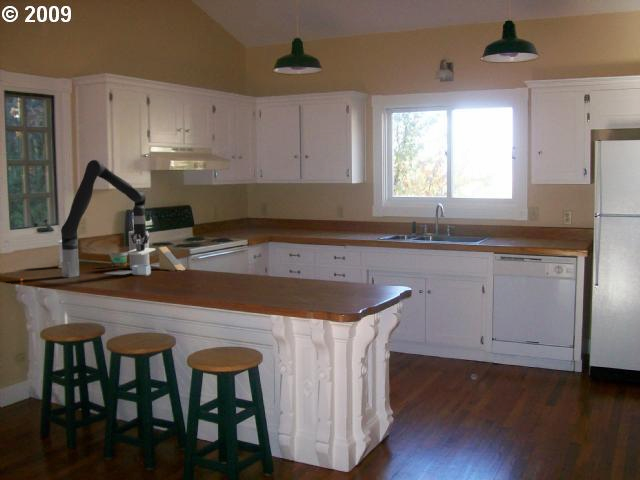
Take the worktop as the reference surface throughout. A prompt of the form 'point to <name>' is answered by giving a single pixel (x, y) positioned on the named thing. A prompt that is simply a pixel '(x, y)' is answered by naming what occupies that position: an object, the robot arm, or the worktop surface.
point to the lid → (140, 250)
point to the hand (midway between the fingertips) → (140, 250)
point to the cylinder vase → (138, 258)
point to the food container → (118, 259)
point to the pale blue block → (141, 270)
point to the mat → (119, 272)
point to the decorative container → (60, 253)
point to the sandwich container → (168, 260)
